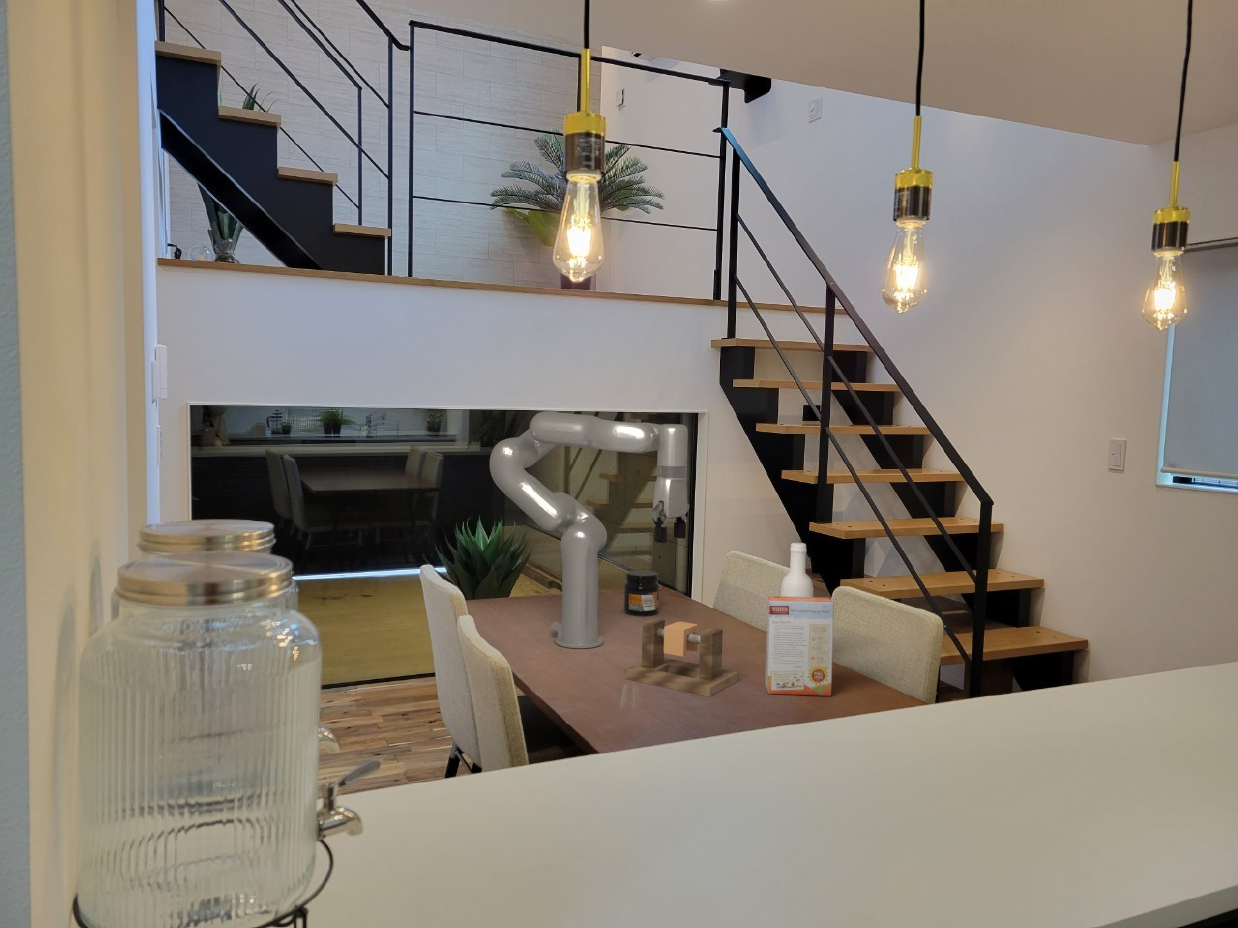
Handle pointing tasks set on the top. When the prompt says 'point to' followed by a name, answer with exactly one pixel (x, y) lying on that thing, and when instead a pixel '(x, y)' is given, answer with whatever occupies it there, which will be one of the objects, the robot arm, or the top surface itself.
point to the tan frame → (682, 663)
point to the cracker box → (799, 645)
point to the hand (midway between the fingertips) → (670, 540)
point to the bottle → (797, 574)
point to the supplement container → (641, 593)
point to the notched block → (679, 638)
